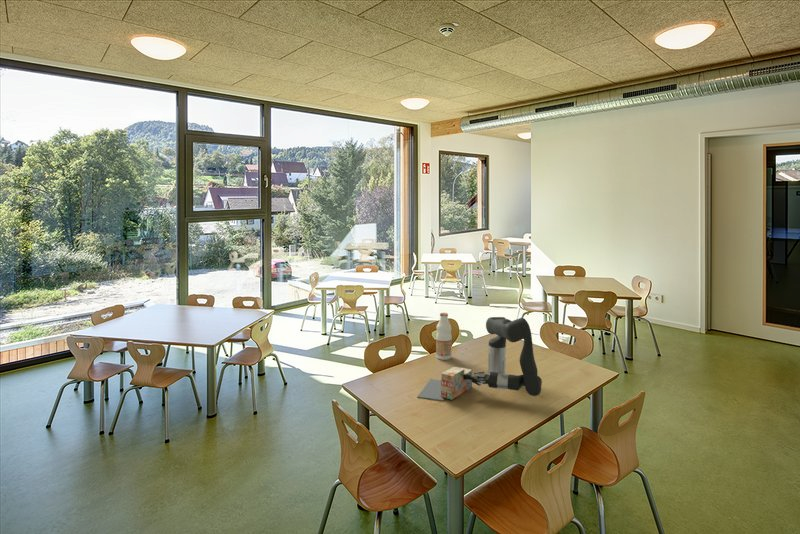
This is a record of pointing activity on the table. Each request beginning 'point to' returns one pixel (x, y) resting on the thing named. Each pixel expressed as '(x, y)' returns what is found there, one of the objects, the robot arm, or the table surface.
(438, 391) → the mat
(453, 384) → the patterned cardboard box
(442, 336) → the fruit juice
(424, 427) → the table surface
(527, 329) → the robot arm
